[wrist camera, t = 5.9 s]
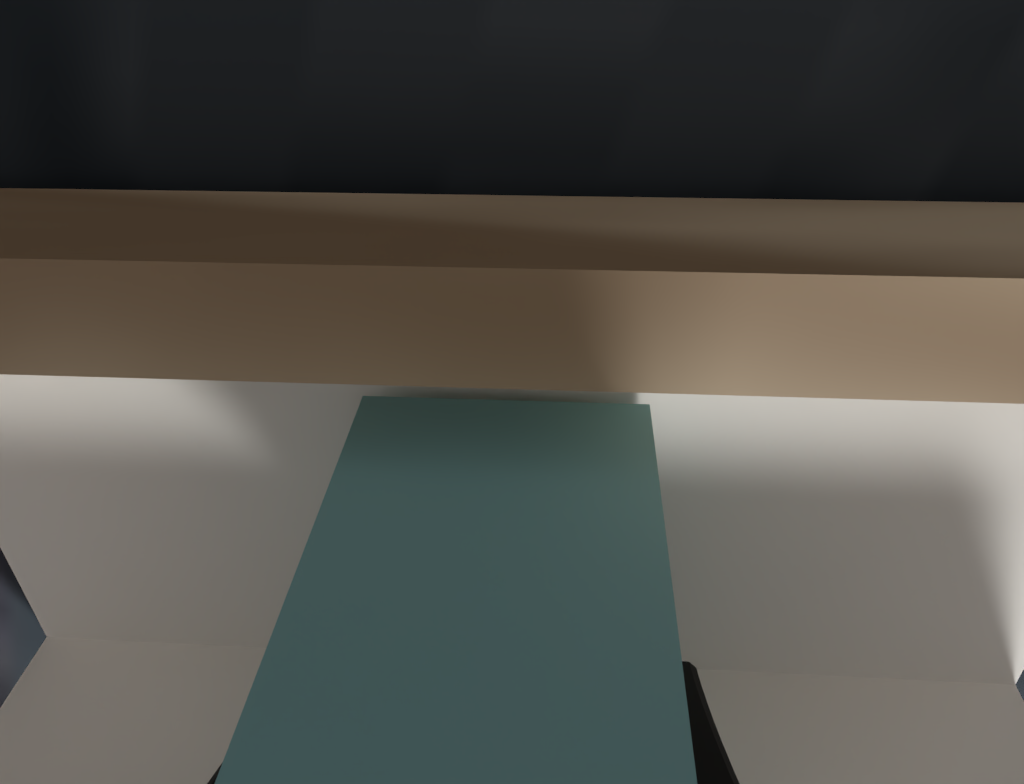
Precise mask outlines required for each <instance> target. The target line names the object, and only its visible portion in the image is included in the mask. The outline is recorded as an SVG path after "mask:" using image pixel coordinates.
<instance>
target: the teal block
mask: <svg viewBox="0 0 1024 784" xmlns="http://www.w3.org/2000/svg"><path fill="white" fill-rule="evenodd" d="M215 784H697V777H696V769H695V761H694V753H693V745H692V737H691V729H690V721H689V713H688V706H687V698H686V690H685V682H684V674H683V666H682V658H681V650H680V642H679V634H678V626H677V618H676V610H675V602H674V594H673V586H672V578H671V570H670V562H669V554H668V546H667V538H666V530H665V523H664V515H663V507H662V499H661V491H660V483H659V475H658V467H657V459H656V451H655V443H654V435H653V427H652V419H651V411H650V404H622V403H588V402H554V401H520V400H486V399H452V398H419V397H385V396H363V397H362V399H361V402H360V405H359V407H358V410H357V412H356V415H355V418H354V420H353V423H352V425H351V428H350V431H349V433H348V436H347V439H346V441H345V444H344V446H343V449H342V452H341V454H340V457H339V459H338V462H337V465H336V467H335V470H334V472H333V475H332V478H331V480H330V483H329V486H328V488H327V491H326V493H325V496H324V499H323V501H322V504H321V506H320V509H319V512H318V514H317V517H316V520H315V522H314V525H313V527H312V530H311V533H310V535H309V538H308V540H307V543H306V546H305V548H304V551H303V554H302V556H301V559H300V561H299V564H298V567H297V569H296V572H295V574H294V577H293V580H292V582H291V585H290V588H289V590H288V593H287V595H286V598H285V601H284V603H283V606H282V608H281V611H280V614H279V616H278V619H277V622H276V624H275V627H274V629H273V632H272V635H271V637H270V640H269V642H268V645H267V648H266V650H265V653H264V656H263V658H262V661H261V663H260V666H259V669H258V671H257V674H256V676H255V679H254V682H253V684H252V687H251V689H250V692H249V695H248V697H247V700H246V703H245V705H244V708H243V710H242V713H241V716H240V718H239V721H238V723H237V726H236V729H235V731H234V734H233V737H232V739H231V742H230V744H229V747H228V750H227V752H226V755H225V757H224V760H223V763H222V765H221V768H220V771H219V773H218V776H217V778H216V781H215Z"/></svg>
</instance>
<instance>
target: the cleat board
mask: <svg viewBox="0 0 1024 784" xmlns="http://www.w3.org/2000/svg"><path fill="white" fill-rule="evenodd" d="M363 396H385V397H419V398H452V399H486V400H520V401H554V402H588V403H622V404H650V411H651V419H652V427H653V435H654V443H655V451H656V459H657V467H658V475H659V483H660V491H661V499H662V507H663V515H664V523H665V530H666V538H667V546H668V554H669V562H670V570H671V578H672V586H673V594H674V602H675V610H676V618H677V626H678V634H679V642H680V650H681V658H682V661H687V662H690V663H691V664H692V665H694V666H695V667H696V668H697V672H698V676H699V679H700V682H701V685H702V688H703V691H704V694H705V697H706V700H707V703H708V706H709V709H710V712H711V714H712V717H713V720H714V723H715V725H716V728H717V730H718V733H719V736H720V738H721V741H722V743H723V745H724V748H725V750H726V753H727V755H728V758H729V760H730V762H731V765H732V767H733V770H734V772H735V774H736V777H737V779H738V781H739V783H740V784H1024V701H1023V699H1022V697H1021V695H1020V693H1019V691H1018V689H1017V687H1016V685H1015V684H1016V682H1017V680H1018V678H1019V677H1020V675H1021V673H1022V671H1023V669H1024V203H1015V202H945V201H875V200H804V199H734V198H664V197H594V196H523V195H453V194H383V193H313V192H242V191H172V190H102V189H32V188H0V548H1V550H2V552H3V554H4V556H5V558H6V559H7V561H8V563H9V565H10V567H11V569H12V571H13V573H14V575H15V577H16V579H17V581H18V583H19V584H20V586H21V588H22V590H23V592H24V594H25V596H26V598H27V600H28V602H29V604H30V606H31V607H32V609H33V611H34V613H35V615H36V617H37V619H38V621H39V623H40V625H41V627H42V629H43V631H44V632H45V634H46V636H47V637H46V639H45V640H44V642H43V643H42V645H41V647H40V648H39V650H38V651H37V653H36V654H35V656H34V657H33V659H32V660H31V662H30V663H29V665H28V666H27V668H26V669H25V671H24V673H23V674H22V676H21V677H20V679H19V680H18V682H17V683H16V685H15V686H14V688H13V689H12V691H11V692H10V694H9V695H8V697H7V698H6V700H5V702H4V703H3V705H2V706H1V708H0V784H207V783H208V782H209V780H210V779H211V778H212V776H213V775H214V773H215V772H216V771H217V769H218V768H219V766H220V765H221V764H222V762H223V760H224V757H225V755H226V752H227V750H228V747H229V744H230V742H231V739H232V737H233V734H234V731H235V729H236V726H237V723H238V721H239V718H240V716H241V713H242V710H243V708H244V705H245V703H246V700H247V697H248V695H249V692H250V689H251V687H252V684H253V682H254V679H255V676H256V674H257V671H258V669H259V666H260V663H261V661H262V658H263V656H264V653H265V650H266V648H267V645H268V642H269V640H270V637H271V635H272V632H273V629H274V627H275V624H276V622H277V619H278V616H279V614H280V611H281V608H282V606H283V603H284V601H285V598H286V595H287V593H288V590H289V588H290V585H291V582H292V580H293V577H294V574H295V572H296V569H297V567H298V564H299V561H300V559H301V556H302V554H303V551H304V548H305V546H306V543H307V540H308V538H309V535H310V533H311V530H312V527H313V525H314V522H315V520H316V517H317V514H318V512H319V509H320V506H321V504H322V501H323V499H324V496H325V493H326V491H327V488H328V486H329V483H330V480H331V478H332V475H333V472H334V470H335V467H336V465H337V462H338V459H339V457H340V454H341V452H342V449H343V446H344V444H345V441H346V439H347V436H348V433H349V431H350V428H351V425H352V423H353V420H354V418H355V415H356V412H357V410H358V407H359V405H360V402H361V399H362V397H363Z"/></svg>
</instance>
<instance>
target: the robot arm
mask: <svg viewBox="0 0 1024 784" xmlns="http://www.w3.org/2000/svg"><path fill="white" fill-rule="evenodd" d="M682 666H683V674H684V682H685V690H686V698H687V706H688V713H689V721H690V729H691V737H692V745H693V753H694V761H695V769H696V777H697V784H740V783H739V781H738V779H737V777H736V774H735V772H734V770H733V767H732V765H731V762H730V760H729V758H728V755H727V753H726V750H725V748H724V745H723V743H722V741H721V738H720V736H719V733H718V730H717V728H716V725H715V723H714V720H713V717H712V714H711V712H710V709H709V706H708V703H707V700H706V697H705V694H704V691H703V688H702V685H701V682H700V679H699V676H698V672H697V668H696V667H695V666H694V665H692V664H691V663H690V662H687V661H682ZM222 763H223V762H222ZM221 765H222V764H221ZM221 765H220V766H219V768H218V769H217V771H216V772H215V773H214V775H213V776H212V778H211V779H210V780H209V782H208V783H207V784H215V781H216V778H217V776H218V773H219V771H220V768H221Z"/></svg>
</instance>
